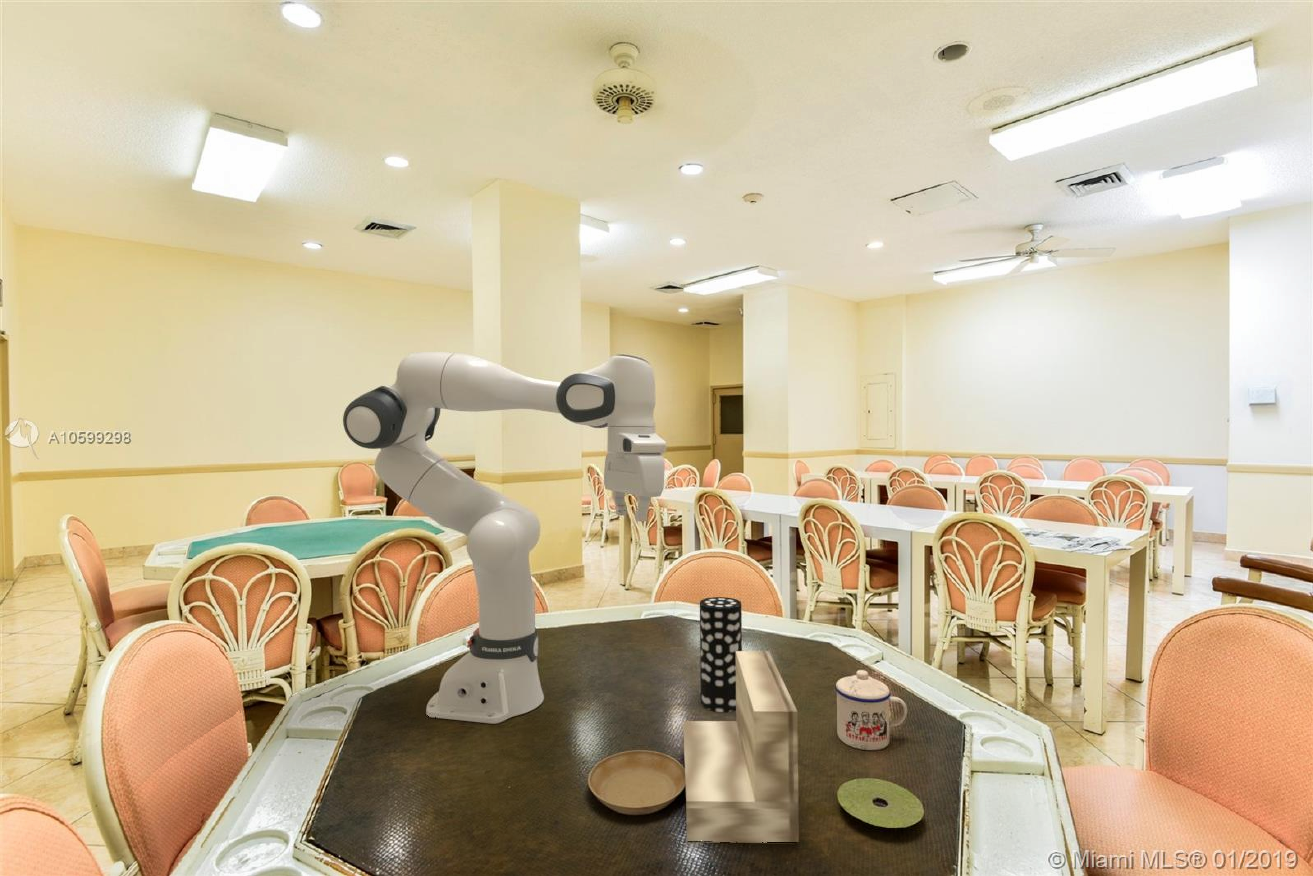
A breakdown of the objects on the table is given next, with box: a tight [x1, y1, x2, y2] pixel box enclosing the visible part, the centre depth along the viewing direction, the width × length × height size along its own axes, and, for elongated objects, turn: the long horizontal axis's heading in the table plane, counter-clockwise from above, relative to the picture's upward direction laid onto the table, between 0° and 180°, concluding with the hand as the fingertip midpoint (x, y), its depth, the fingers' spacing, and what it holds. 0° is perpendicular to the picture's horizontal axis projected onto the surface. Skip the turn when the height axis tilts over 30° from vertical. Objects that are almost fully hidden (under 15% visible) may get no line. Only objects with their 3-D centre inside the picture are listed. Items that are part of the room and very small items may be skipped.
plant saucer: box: [587, 749, 686, 816], centre depth 87 cm, size 15×15×3 cm
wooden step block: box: [682, 650, 800, 844], centre depth 87 cm, size 14×22×17 cm, turn 179°
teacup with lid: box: [835, 669, 908, 751], centre depth 102 cm, size 12×9×12 cm
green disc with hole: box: [836, 777, 925, 829], centre depth 81 cm, size 11×11×2 cm
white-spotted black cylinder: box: [699, 596, 743, 713], centre depth 117 cm, size 8×8×20 cm
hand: (630, 518), depth 108 cm, fingers open, 8 cm apart
